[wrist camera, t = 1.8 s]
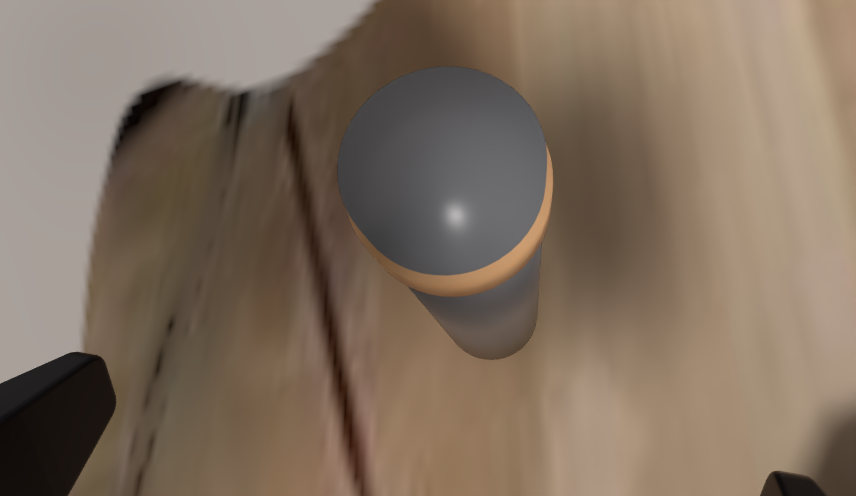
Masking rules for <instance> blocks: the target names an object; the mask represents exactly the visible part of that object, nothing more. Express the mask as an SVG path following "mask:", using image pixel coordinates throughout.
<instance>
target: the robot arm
mask: <svg viewBox="0 0 856 496" xmlns="http://www.w3.org/2000/svg"><path fill="white" fill-rule="evenodd" d="M115 407H116V395H115V392H114V389H113V385H112V382H111V379H110V376H109V373H108V369H107V366H106V363H105V361H104V360H103V359H102V358H101V357H100V356H98V355H93V354H87V353H81V352H72V353H68V354H66V355H64V356H61V357H59V358H57V359H55V360H52V361H50V362H48V363H46V364H44V365H41V366H39V367H37V368H34V369H32V370H30V371H28V372H25V373H23V374H21V375H19V376H17V377H14V378H12V379H10V380H8V381H5V382H3V383H1V384H0V496H68V495H69V493H70V491H71V490H72V488H73V486H74V484H75V482H76V480H77V479H78V477H79V475H80V473H81V471H82V470H83V468H84V466H85V464H86V462H87V461H88V459H89V457H90V455H91V453H92V452H93V450H94V448H95V446H96V444H97V443H98V441H99V439H100V437H101V435H102V434H103V432H104V430H105V428H106V426H107V425H108V423H109V421H110V419H111V417H112V415H113V413H114V410H115ZM760 496H828V495H827V494H826V493H825V492H824V491H823V490H822V488H821V487H820V486H819V485H818V484H817V483H816V482H815V481H814V480H813V479H811V478H810V477H808V476H805V475H800V474H794V473H788V472H782V471H773V472H771V473H770V474H769V476H768V477H767V479H766V482H765V485H764V487H763V490H762V492H761V495H760Z"/></svg>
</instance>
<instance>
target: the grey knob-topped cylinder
mask: <svg viewBox="0 0 856 496" xmlns="http://www.w3.org/2000/svg"><path fill="white" fill-rule="evenodd" d="M337 172H338V184H339V190H340V194H341V197H342V200H343V203H344V206H345V208H346V210H347V213H348V216H349V219H350V223H351V225H352V227H353V229H354V231H355V233H356V235H357V236H358V238H359V239H360V241H361V242H362V244H363V245H364V246H365V248H366V249H367V250H368V251H369V252H370V253H371V254H372V255H373V256H374V258H375V259H376V260H377V261H378V262H379V263H380V264H381V265H382V266H383V268H384V269H385V270H386V271H387V272H388V273H390V274H391V275H392V276H393V277H394V278H396V279H397V280H398V281H400V282H402V283H403V284H405V285H406V286H408V287H409V289H410V290H411V291H412V292H413V293H414V294H415V296H416V297H417V298H418V299H419V300H420V302H421V303H422V304H423V305H424V306H425V307H426V309H427V310H428V311H429V312H430V313H431V314H432V316H433V317H434V318H435V319H436V320H437V322H438V323H439V324H440V325H441V326H442V327H443V329H444V330H445V331H446V332H447V333H448V335H449V336H450V337H451V338H452V339H453V340H454V342H455V343H456V344H457V345H458V346H459V347H460V348H461V349H462V350H464V351H465V352H467V353H468V354H470V355H472V356H474V357H477V358H481V359H488V360H494V359H501V358H505V357H508V356H510V355H512V354H514V353H516V352H517V351H519V350H520V349H521V348H522V347H523V346H524V345H525V344H526V343H527V342H528V341H529V339H530V337H531V336H532V334H533V331H534V329H535V325H536V320H537V308H538V293H539V278H540V263H541V248H542V240H543V238H544V236H545V233H546V230H547V226H548V223H549V218H550V211H551V202H552V191H553V169H552V162H551V157H550V154H549V150H548V147H547V145H546V142H545V138H544V134H543V131H542V127H541V125H540V123H539V121H538V119H537V116H536V115H535V113H534V112H533V110H532V108H531V107H530V105H529V104H528V103H527V102H526V101H525V100H524V98H523V97H522V96H521V95H520V94H519V93H518V92H516V91H515V90H514V89H513V88H512V87H510V86H509V85H508V84H506V83H505V82H503V81H502V80H500V79H498V78H496V77H494V76H492V75H490V74H487V73H484V72H481V71H478V70H474V69H469V68H465V67H453V66H446V67H433V68H426V69H422V70H418V71H415V72H411V73H409V74H406V75H404V76H401V77H399V78H397V79H395V80H394V81H392V82H390V83H388V84H387V85H385V86H384V87H382V88H381V89H379V90H378V91H377V92H376V93H375V94H373V95H372V96H371V97H370V98H369V99H368V100H367V101H366V102H365V103H364V104H363V105H362V106H361V108H360V109H359V110H358V112H357V113H356V114H355V116H354V117H353V119H352V120H351V122H350V124H349V126H348V128H347V130H346V132H345V135H344V137H343V140H342V143H341V147H340V151H339V156H338V166H337Z"/></svg>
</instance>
